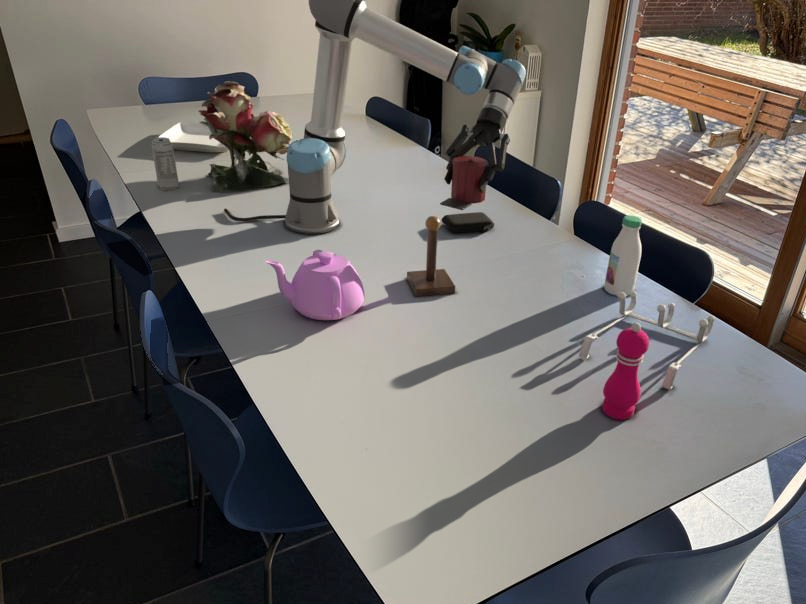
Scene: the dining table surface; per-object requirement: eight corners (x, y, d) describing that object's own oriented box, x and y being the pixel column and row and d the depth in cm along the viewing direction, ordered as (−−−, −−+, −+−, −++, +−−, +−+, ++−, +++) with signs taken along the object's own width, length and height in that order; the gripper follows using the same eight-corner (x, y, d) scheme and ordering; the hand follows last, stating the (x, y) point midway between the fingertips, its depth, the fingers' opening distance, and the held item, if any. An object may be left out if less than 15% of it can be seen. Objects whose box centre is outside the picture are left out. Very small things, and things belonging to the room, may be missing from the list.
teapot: (262, 293, 173) (257, 240, 166) (351, 282, 181) (350, 231, 174) (279, 339, 157) (274, 282, 149) (376, 325, 165) (376, 270, 157)
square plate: (230, 157, 256) (229, 146, 253) (152, 151, 255) (151, 140, 253) (252, 136, 278) (251, 126, 276) (180, 130, 278) (179, 120, 275)
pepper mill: (596, 399, 146) (613, 313, 135) (630, 399, 147) (650, 314, 136) (604, 421, 140) (622, 332, 129) (640, 421, 141) (661, 333, 130)
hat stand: (415, 296, 178) (417, 225, 168) (406, 278, 186) (408, 209, 176) (454, 293, 181) (459, 223, 171) (444, 275, 188) (447, 208, 178)
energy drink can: (179, 183, 230) (171, 136, 222) (179, 190, 226) (171, 142, 217) (158, 184, 228) (150, 136, 220) (158, 191, 224) (149, 142, 216)
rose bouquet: (303, 182, 239) (297, 88, 223) (215, 195, 224) (201, 95, 208) (275, 160, 256) (267, 71, 240) (190, 170, 242) (177, 76, 226)
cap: (460, 188, 203) (463, 151, 197) (491, 196, 199) (494, 158, 194) (435, 203, 192) (437, 163, 186) (467, 211, 188) (469, 171, 183)
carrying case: (451, 236, 210) (497, 232, 215) (452, 227, 209) (498, 223, 214) (439, 223, 218) (483, 219, 224) (439, 213, 217) (484, 209, 222)
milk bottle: (635, 287, 191) (650, 216, 180) (630, 299, 185) (646, 226, 174) (606, 281, 193) (620, 210, 182) (601, 293, 187) (614, 220, 176)
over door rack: (712, 338, 171) (722, 302, 166) (671, 394, 149) (682, 355, 144) (627, 310, 180) (635, 275, 174) (578, 359, 158) (584, 321, 153)
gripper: (534, 130, 196) (504, 202, 192) (462, 114, 204) (432, 183, 200) (528, 113, 189) (497, 188, 185) (454, 98, 197) (423, 169, 193)
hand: (463, 186), depth 193 cm, fingers closed on cap, 9 cm apart
